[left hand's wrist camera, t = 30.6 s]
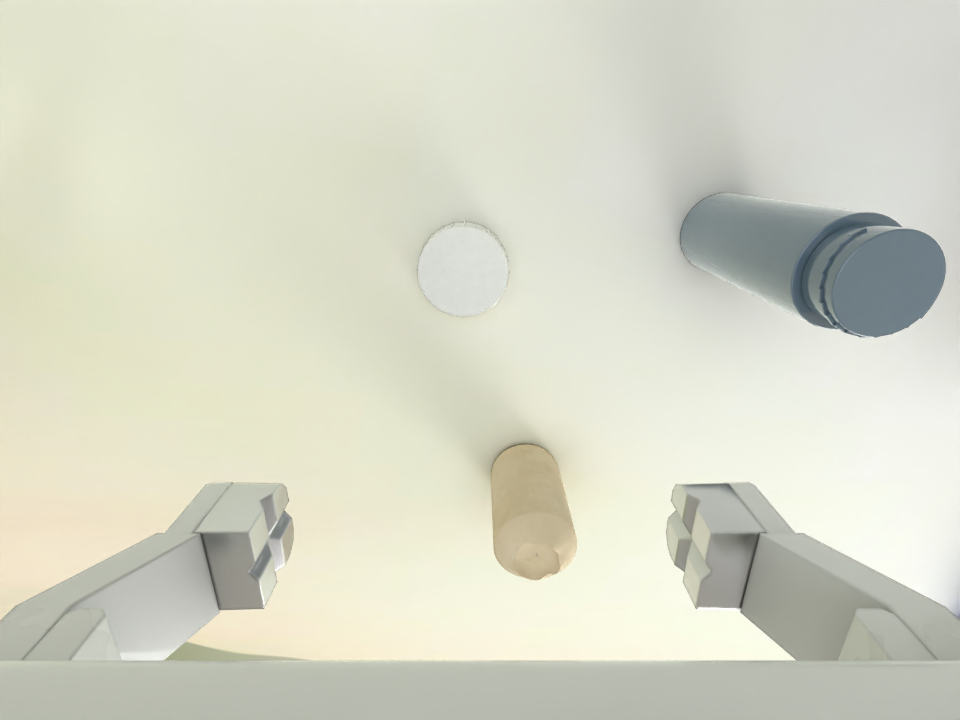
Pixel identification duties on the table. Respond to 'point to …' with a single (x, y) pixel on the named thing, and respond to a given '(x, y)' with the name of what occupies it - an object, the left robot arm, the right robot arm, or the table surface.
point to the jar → (818, 261)
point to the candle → (530, 514)
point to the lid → (463, 269)
